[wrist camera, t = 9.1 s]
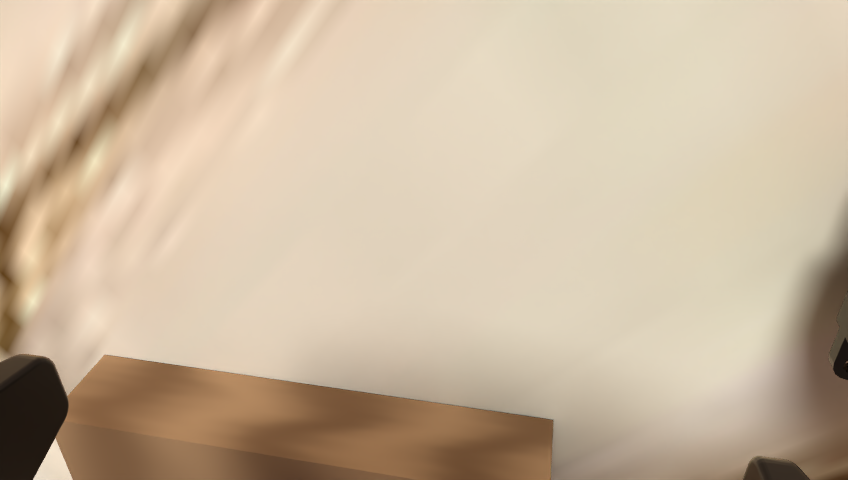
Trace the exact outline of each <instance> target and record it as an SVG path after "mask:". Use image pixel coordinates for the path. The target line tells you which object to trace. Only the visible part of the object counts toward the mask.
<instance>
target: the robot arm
mask: <svg viewBox="0 0 848 480" xmlns="http://www.w3.org/2000/svg"><path fill="white" fill-rule="evenodd" d="M837 323H838V324H839V326H840V329H839V331H838V333H837V336H836V338H835V340H834V343H833V345H832V348H831V350H830V352H829V358H828V359H829V362H830V364H831V366H832V368H833V370H834V372H835V374H836V375H837V376H839V377H840V378H842V379H846V380H848V363H846V361H848V292H847V294H846V296H845V299H844V301H843V304H842V306H841V309H840V311H839V313H838V316H837ZM68 409H69V400H68V397H67V394H66V392H65V389H64V387H63V384H62V382H61V379H60V377H59V374H58V372H57V369H56V367H55V365H54V363H53V361H51V360H50V359H49V358H47V357H43V356H36V355H29V354H19V355H15V356H13V357H10V358H8V359H6V360H4V361H2V362H0V480H33V478H34V476H35V475H36V473H37V471H38V469H39V467H40V465H41V463H42V462H43V460H44V458H45V456H46V454H47V452H48V450H49V449H50V447H51V445H52V443H53V441H54V439H55V437H56V436H57V434H58V432H59V430H60V428H61V426H62V424H63V423H64V421H65V419H66V416H67V413H68ZM743 480H810V479H809V478H808V477H807V476H806V475H805V474H804V472H803V471H802V470H801V469H800V468H799V467H798V466H797V465H796V464H794V463H793V462H791V461H789V460H784V459H777V458H770V457H763V456H756V457H754V458H752V459H751V461H750V462H749V464H748V467H747V470H746V472H745V475H744V478H743Z"/></svg>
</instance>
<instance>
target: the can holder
mask: <svg viewBox="0 0 848 480" xmlns="http://www.w3.org/2000/svg"><path fill="white" fill-rule="evenodd" d="M67 397H68V400H69V409H68V413H67V416H66V419H65V421H64V423H63V424H62V426H61V428H60V430H59V432H58V434H57V436H56V437H55V438H56V440H57V443H58V445H59V447H60V450H61V452H62V455H63V457H64V459H65V462H66V464H67V467H68V469H69V471H70V474H71V476H72V478H73V480H551V459H552V436H553V420H549V419H543V418H536V417H529V416H522V415H515V414H508V413H501V412H494V411H488V410H481V409H474V408H467V407H460V406H453V405H446V404H439V403H432V402H426V401H419V400H412V399H405V398H398V397H391V396H384V395H377V394H371V393H364V392H357V391H350V390H343V389H336V388H329V387H322V386H315V385H309V384H302V383H295V382H288V381H281V380H274V379H267V378H260V377H254V376H247V375H240V374H233V373H226V372H219V371H212V370H205V369H198V368H192V367H185V366H178V365H171V364H164V363H157V362H150V361H143V360H136V359H130V358H123V357H116V356H109V355H104V356H103V357H102V358H101V360H100V361H99V362H98V363H97V364H96V365H95V366H94V367H93V368H92V370H91V371H90V372H89V373H88V374H87V375H86V376H85V377H84V378H83V380H82V381H81V382H80V383H79V384H78V385H77V386H76V387H75V388H74V390H73V391H72V392H71V393H70V394H69V395H68V396H67Z"/></svg>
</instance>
